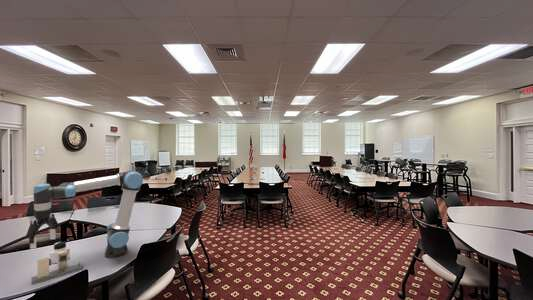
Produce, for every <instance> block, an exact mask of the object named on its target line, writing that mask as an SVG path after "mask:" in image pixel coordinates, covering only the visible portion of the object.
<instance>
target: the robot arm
mask: <svg viewBox="0 0 533 300" xmlns="http://www.w3.org/2000/svg"><path fill="white" fill-rule="evenodd" d="M143 178H144V177H143V175H142V174H141V173H140V172H138V171H135V170H127V171H123V172H118V173H116V174H114V175H108V176H101V177H95V178H91V179H90V178H89V179H83V180H77V181H73V182H72V181H71V182H62V183H61V184H59V185H58V186H51V184H50V183H40V184H35V185H34V186H33V194H32V195H33V210H34V211H33V216H34V217H35V219H34V220H30V222H29V226H28V229H27V232H26V234H25V239H28V240H29V249H30V250H32V249H35V250H36V249H37V237H36V235H37V234H38V232H39V230H40V229H41V227H42V226H44V225H47V226H48V227H49V228H50V229H49V235H50V236H49V237H50V240H56V239H57V238H56V234H57V229H58V228H59V226H60V225H59V223H58V221H57V219H56V216H55V213H52V209H51V208H52V202H51V201H52V200H53V199H54V200H55V199H62V198H70V197H71V198H72V197H75V196H76V193H79V192H87V191H89V190H90V191H91V190H96V189H97V190H98V189H102V188H107V187H112V186H121V190H122V194H121V200H120V202H119V206H118V211H117V214H116V218H115V223H109V224H107V228H106V230H107V231H106V232H107V234H106V235H107V237H106V238H107V239H106V243H107V245H106V248H105V251H104V258H109V259H110V258H111V259H113V258H119V257H122V256H124V255H126V254H127V253H128V251H129V247H128V245H127V244H128V242H129V240H130V239H129V238H130V237H129V234H130V230H131V226H130V220H131V217H132V213H133V208H134V204H135V201H136V196H137V193H138V192H139V191H140V190H141V187H142V185H143V183H144V179H143Z"/></svg>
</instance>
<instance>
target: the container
mask: <svg viewBox="0 0 533 300" xmlns="http://www.w3.org/2000/svg"><path fill="white" fill-rule="evenodd" d="M64 251H66V252H67V260H69V259H70V247H67V242H66V241H58V242H56V243H54V244H53V250H52V251H51V252H49V259H51V264H58V253H60V252H64Z"/></svg>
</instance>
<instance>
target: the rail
mask: <svg viewBox="0 0 533 300" xmlns="http://www.w3.org/2000/svg"><path fill="white" fill-rule="evenodd" d="M36 263H37V269H36V271H37V274H36V275H35V276H32V277H31V285H35V283H36V284H39V283H42V282H45V281H48V280H51V279H55V278H58V277H62V276H65V275H68V274H72V273H74V272H77V271H81V270H84V265H83V263H81V261H78V263H76V264H74V265H70V266H67V267H65V266H63V268H62V269H59V268H58V269H55V270H53V271H50V266H51V265H52V263H51V259H50V257H44V258H41V259H37V261H36Z"/></svg>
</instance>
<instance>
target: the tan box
mask: <svg viewBox="0 0 533 300" xmlns="http://www.w3.org/2000/svg"><path fill="white" fill-rule="evenodd" d="M63 266H65V267H68V259H67V252H66V251H64V252H60V253H58V263H57V267H58V270H59V269H62V268H63Z"/></svg>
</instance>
